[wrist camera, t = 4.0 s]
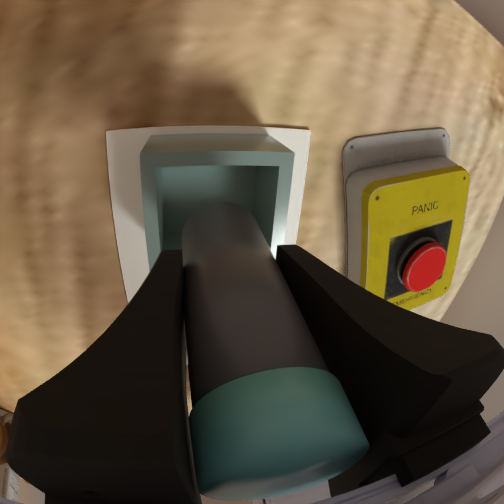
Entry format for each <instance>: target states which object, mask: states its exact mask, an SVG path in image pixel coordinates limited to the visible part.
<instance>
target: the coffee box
mask: <svg viewBox="0 0 504 504" xmlns="http://www.w3.org/2000/svg"><path fill="white" fill-rule="evenodd" d="M12 418H13V414H12V413H10V412H7V411H4V410H2V409H0V497H3V498H6V499H9V500H12V501H16V502H17V500H18V487H19V477H20V476H19V475H18V474H16V473H15V472H14V471H13V470H12V469H11V468H10V466H9V465H8V463H7V462H6V460H5V454H6V448H7V443H8V437H9V432H10V427H11V422H12Z"/></svg>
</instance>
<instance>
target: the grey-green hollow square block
mask: <svg viewBox="0 0 504 504" xmlns="http://www.w3.org/2000/svg"><path fill="white" fill-rule="evenodd" d="M294 156H295V153H294V152H293V151H292V150H290V149H289V148H287V147H286V146H284V145H283V144H282V143H280V142H279V141H277V140H276V139H274V138H273V137H271V136H270V135H265V134H230V133H199V134H164V135H151V136H150V137H149V139H148V140H147V142H146V144H145V145H144V147H143V149H142V150H141V152H140V172H141V189H142V203H143V215H144V226H145V236H146V246H147V254H148V263H149V271H150V270H151V269H152V267H153V265H154V263H155V262H156V260H157V258H158V256H159V254H160V252H161V251H162V250H179V249H182V231H183V228H184V225H185V223H186V221H187V220H188V218H189V217H190V216H191V215H192V214H193V213H194V212H195V211H196V210H198V209H199V208H201V207H203V206H205V205H207V204H210V203H214V202H231V203H235V204H238V205H240V206H242V207H244V208H245V209H247V210H248V211H249V212H250V213H251V214H252V215H253V217H254V218H255V220H256V222H257V224H258V226H259V228H260V230H261V232H262V234H263V236H264V238H265V240H266V242H267V244H268V246H269V248H270V250H271V252H272V254H273V256H274V258H275V259H276V251H277V245H284V238H285V231H286V223H287V215H288V207H289V199H290V190H291V182H292V173H293V165H294Z"/></svg>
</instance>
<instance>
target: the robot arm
mask: <svg viewBox="0 0 504 504" xmlns="http://www.w3.org/2000/svg"><path fill="white" fill-rule="evenodd" d="M275 260H276V262H277V264H278V266H279V268H280V270H281V272H282V274H283V276H284V278H285V280H286V282H287V284H288V287H289V289H290V291H291V293H292V295H293V297H294V299H295V301H296V303H297V305H298V307H299V309H300V311H301V313H302V315H303V317H304V320H305V322H306V324H307V326H308V328H309V330H310V332H311V334H312V336H313V338H314V340H315V342H316V345H317V347H318V349H319V351H320V353H321V355H322V357H323V359H324V361H325V364H326V366H327V368H328V370H329V372H330V373H331V374H333V375H334V376H335V377H337V379H338V380H339V381H340V383H341V385H342V388H343V390H344V392H345V394H346V396H347V398H348V400H349V402H350V404H351V406H352V408H353V411H354V413H355V415H356V417H357V419H358V421H359V423H360V425H361V427H362V430H363V432H364V434H365V436H366V438H367V440H368V442H369V450H368V451H367V453H366V454H365V455H364V457H363V458H362V459H360V460H359V461H358V462H357V463H356V464H354V465H353V466H352V467H350V468H349V469H347V470H345V471H344V472H342V473H340V474H338V475H337V476H335V477H333V478H331V479H329V480H326V481H324V482H322V483H319V484H317V485H314V486H312V487H309V488H306V489H303V490H300V491H297V492H293V493H289V494H286V495H281V496H277V497H271V498H265V499H258V500H253V504H386V503H389V502H391V501H393V500H395V499H398V498H400V497H402V496H404V495H406V494H407V493H410V492H412V491H414V490H416V489H418V488H420V487H422V486H423V485H425V484H427V483H429V482H431V481H433V480H434V479H436V480H435V482H434V486H433V487H431V488H430V489H428V490H426V491H425V492H423V493H421V494H419V495H418V496H416V497H415V498H413V499H412V500H410V501H408V502H407V503H405V504H504V411H503V412H501V413H500V414H499V415H497V416H496V417H494V418H493V419H492V420H490V421H489V422H487V423H485V422H484V420H483V419H482V417H481V415H480V413H481V412H482V411H483V410H484V406H483V405H482V403H481V402H480V399H481V397H482V396H483V395H484V394H485V393H486V392H487V390H488V389H489V388H490V387H491V386H492V384H493V383H494V382H495V380H496V379H497V378H498V377H499V375H500V374H501V372H502V371H503V369H504V349H503V347H502V346H501V345H500V344H499V343H498V342H497V340H496V339H495V338H494V337H493V336H492V335H489V334H485V333H480V332H476V331H471V330H466V329H462V328H457V327H454V326H451V325H448V324H444V323H441V322H438V321H435V320H432V319H429V318H426V317H424V316H421V315H419V314H416V313H414V312H411V311H409V310H406V309H404V308H402V307H399V306H397V305H395V304H393V303H391V302H389V301H387V300H385V299H383V298H381V297H379V296H377V295H375V294H373V293H371V292H369V291H368V290H366V289H364V288H363V287H361V286H359V285H358V284H356V283H354V282H353V281H351V280H349V279H348V278H346V277H345V276H343V275H341V274H340V273H338V272H337V271H335V270H334V269H332V268H331V267H329V266H328V265H326V264H325V263H323V262H322V261H321V260H319V259H318V258H316V257H315V256H313V255H312V254H310V253H309V252H307V251H306V250H304V249H303V248H301V247H299V246H297V245H295V244H291V245H277V251H276V259H275ZM186 363H187V345H186V331H185V316H184V276H183V256H182V249H179V250H162V251H161V252H160V254H159V256H158V258H157V260H156V262H155V263H154V265H153V267H152V269H151V270H150V272H149V274H148V275H147V277H146V279H145V280H144V282H143V283H142V285H141V286H140V288H139V289H138V291H137V292H136V294H135V295H134V296H133V298H132V299H131V300H130V302H129V303H128V305H127V306H126V307H125V309H124V310H123V311H122V312H121V314H120V315H119V316H118V317H117V318H116V320H115V321H114V322H113V323H112V324H111V325H110V326H109V328H108V329H107V330H106V331H105V332H104V333H103V334H102V335H101V336H100V337H99V338H98V339H97V340H96V341H95V342H94V343H93V344H92V345H91V346H90V347H89V348H88V349H87V350H86V351H85V352H83V353H82V354H81V355H80V356H79V357H78V358H76V359H75V360H74V361H73V362H72V363H70V364H69V365H68V366H67V367H65V368H64V369H63V370H61V371H60V372H59V373H58V374H56V375H55V376H53V377H52V378H51V379H49V380H48V381H46V382H45V383H43V384H42V385H40V386H39V387H37V388H36V389H34V390H33V391H31V392H30V393H28V394H27V395H25V396H23V397H22V398H20V399H19V400H18V402H17V405H16V408H15V411H14V414H13V418H12V422H11V427H10V432H9V437H8V443H7V448H6V454H5V460H6V462H7V463H8V465H9V466H10V468H11V469H12V470H13V471H14V472H15V473H16V474H18V475H19V476H20V477H22V478H23V479H24V480H26V481H27V482H29V483H30V484H31V485H33V486H34V487H36V488H37V489H39V490H40V491H42V492H44V493H45V504H202V502H201V496H200V493H199V491H198V487H197V481H196V474H195V467H194V460H193V452H192V444H191V436H190V427H189V415H188V406H187V393H186ZM0 504H22V503H19V502H16V501H12V500H9V499H6V498H3V497H0Z"/></svg>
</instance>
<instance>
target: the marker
mask: <svg viewBox="0 0 504 504" xmlns="http://www.w3.org/2000/svg"><path fill="white" fill-rule="evenodd" d="M182 256H183V276H184V316H185V331H186V345H187V358H188V370H189V381H190V391H191V400H192V410H191V412H190V415H189V427H190V436H191V444H192V452H193V460H194V467H195V474H196V481H197V487H198V491H199V493H201V494H202V495H204V496H206V497H209V498H212V499H217V500H226V501H247V500H258V499H265V498H271V497H277V496H281V495H286V494H289V493H293V492H297V491H300V490H303V489H306V488H309V487H312V486H314V485H317V484H319V483H322V482H324V481H326V480H329V479H331V478H333V477H335V476H337V475H338V474H340V473H342V472H344V471H345V470H347V469H349V468H350V467H352V466H353V465H354V464H356V463H357V462H358V461H359V460H360V459H362V458H363V457H364V455H365V454H366V453H367V451H368V450H369V442H368V440H367V438H366V436H365V434H364V432H363V430H362V427H361V425H360V423H359V421H358V419H357V417H356V415H355V413H354V411H353V408H352V406H351V404H350V402H349V400H348V398H347V396H346V394H345V392H344V390H343V388H342V385H341V383H340V381H339V380H338V379H337V377H335V376H334V375H333V374H331V373H330V372H329V370H328V368H327V366H326V364H325V361H324V359H323V357H322V355H321V353H320V351H319V349H318V347H317V345H316V342H315V340H314V338H313V336H312V334H311V332H310V330H309V328H308V326H307V324H306V322H305V320H304V317H303V315H302V313H301V311H300V309H299V307H298V305H297V303H296V301H295V299H294V297H293V295H292V293H291V291H290V289H289V287H288V284H287V282H286V280H285V278H284V276H283V274H282V272H281V270H280V268H279V266H278V264H277V262H276V260H275V258H274V256H273V254H272V252H271V250H270V248H269V246H268V244H267V242H266V240H265V238H264V236H263V234H262V232H261V230H260V228H259V226H258V224H257V222H256V220H255V218H254V217H253V215H252V214H251V213H250V212H249V211H248V210H247V209H245V208H244V207H242V206H240V205H238V204H235V203H231V202H214V203H210V204H207V205H205V206H203V207H201V208H199V209H198V210H196V211H195V212H194V213H193V214H192V215H191V216H190V217H189V218H188V220H187V221H186V223H185V225H184V228H183V231H182Z"/></svg>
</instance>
